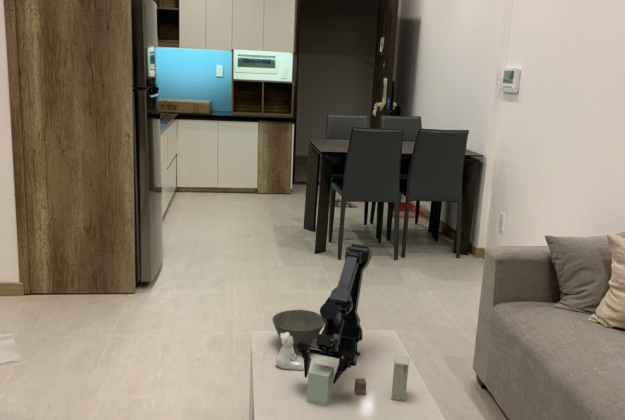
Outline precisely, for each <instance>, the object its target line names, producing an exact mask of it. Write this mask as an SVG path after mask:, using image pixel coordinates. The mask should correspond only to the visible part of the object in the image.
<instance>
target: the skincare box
mask: <svg viewBox="0 0 625 420" xmlns="http://www.w3.org/2000/svg"><path fill="white" fill-rule="evenodd" d="M394 357H395V358H394V365H393V375H392V376H393V377H392V385H391V397H390V399H391V400H396V401H402V402H405V401H406V395H407V383H408V373H409V365H410V364H409V363H410V356H405V355H400V354H395V356H394Z"/></svg>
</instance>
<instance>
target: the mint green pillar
mask: <svg viewBox="0 0 625 420" xmlns="http://www.w3.org/2000/svg"><path fill="white" fill-rule="evenodd" d="M334 377H335V366H328V365H324V364H319V363H314V364H313V366H311V368H310V369H309V372H308V375H307V388H306V389H307V392H306V402H309V403H313V404H317V405H322V406H326V407H327V406H328V403H329V402H330V400H331V399H332V396H333V388H334V383H333V381H334Z"/></svg>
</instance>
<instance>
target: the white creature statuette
mask: <svg viewBox="0 0 625 420" xmlns="http://www.w3.org/2000/svg"><path fill="white" fill-rule="evenodd" d="M280 337H281V338H280ZM279 338H280V342H281V345H282V346H281V347H280V350H279V353H278V355H276V358H275V363H276V365H277V367H279V368H280V369H283V370H290V371H291V370H293V371H304V363H303V362H300V361H297V358H298V357H297V355H298V354H296V353H295V351H296V350H295V348H293V345H292V344H293V343H294V342H293V339H292V338H293V337H292V336H290V333H288V332H285V333H284V334H283V333H281V335H280V336H279Z"/></svg>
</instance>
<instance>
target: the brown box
mask: <svg viewBox="0 0 625 420" xmlns="http://www.w3.org/2000/svg"><path fill="white" fill-rule="evenodd" d="M366 392H367V381H366V378H360V377H358V378H357V377H356V378H355V379H354V393H355V395H356V396H366Z"/></svg>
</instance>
